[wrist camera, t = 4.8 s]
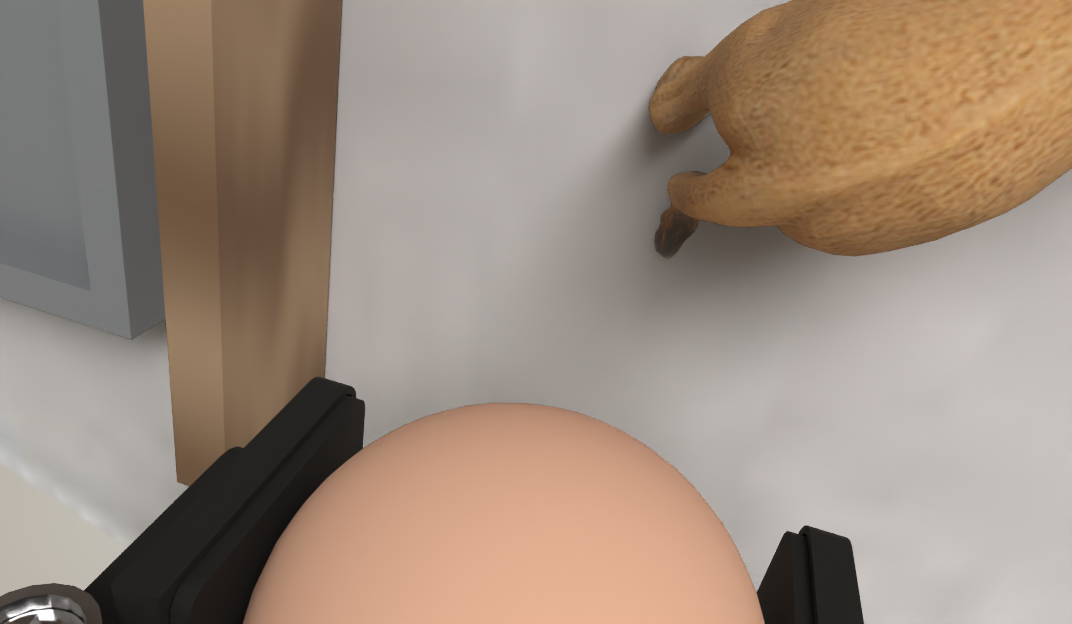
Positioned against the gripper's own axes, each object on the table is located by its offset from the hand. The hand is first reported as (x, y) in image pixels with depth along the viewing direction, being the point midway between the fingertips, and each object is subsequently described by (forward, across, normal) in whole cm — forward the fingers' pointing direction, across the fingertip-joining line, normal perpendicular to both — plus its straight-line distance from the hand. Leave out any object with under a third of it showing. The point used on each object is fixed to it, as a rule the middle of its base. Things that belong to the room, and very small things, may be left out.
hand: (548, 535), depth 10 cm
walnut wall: (+7, +8, -2) cm, 10 cm away
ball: (+1, 0, 0) cm, 1 cm away
